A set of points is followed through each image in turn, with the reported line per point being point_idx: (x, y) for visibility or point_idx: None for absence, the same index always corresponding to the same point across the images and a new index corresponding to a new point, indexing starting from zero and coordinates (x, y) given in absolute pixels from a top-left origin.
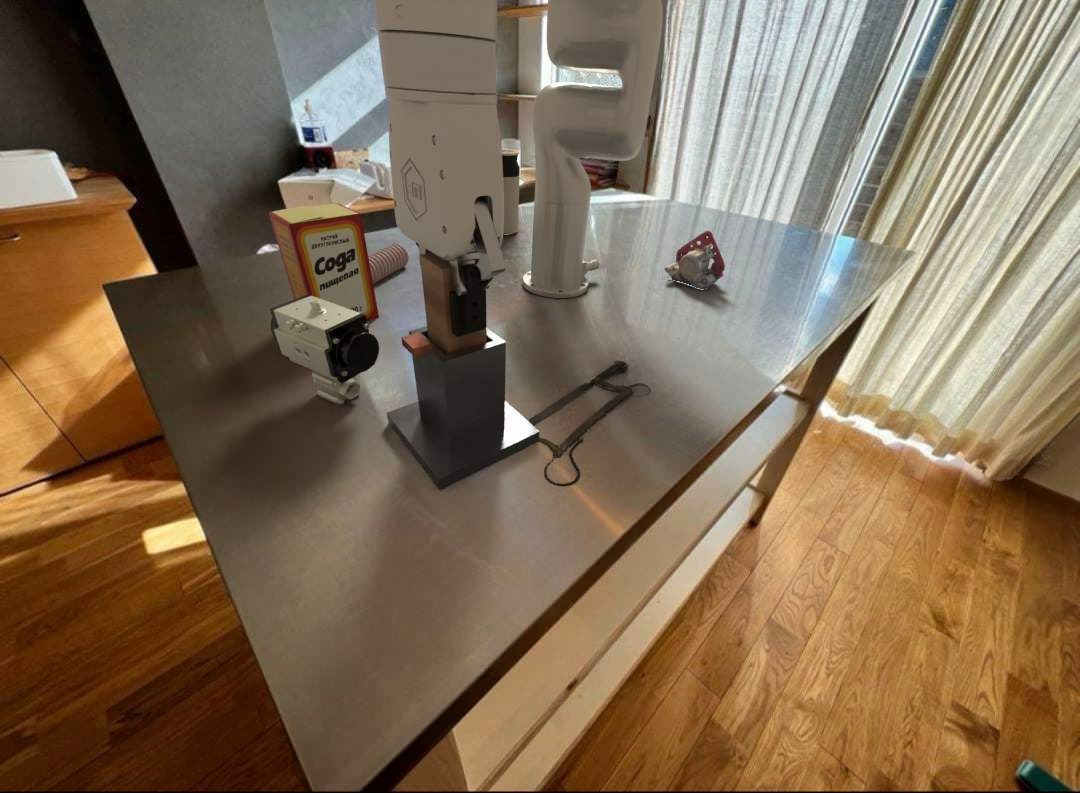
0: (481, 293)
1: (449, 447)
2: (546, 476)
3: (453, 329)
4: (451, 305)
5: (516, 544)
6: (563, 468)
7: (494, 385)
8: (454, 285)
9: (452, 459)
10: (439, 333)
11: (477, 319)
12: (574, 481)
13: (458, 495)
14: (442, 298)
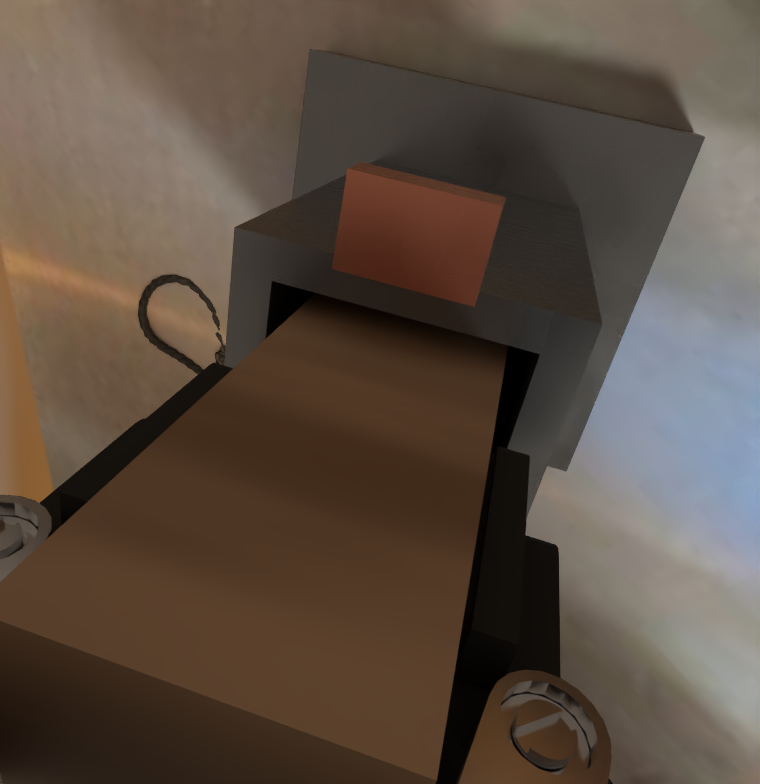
0: None
1: (376, 162)
2: (189, 285)
3: (215, 377)
4: (138, 448)
5: (84, 74)
6: (185, 331)
7: None
8: (27, 549)
9: (347, 140)
10: (353, 357)
11: None
12: (138, 311)
13: (279, 79)
14: (175, 458)
